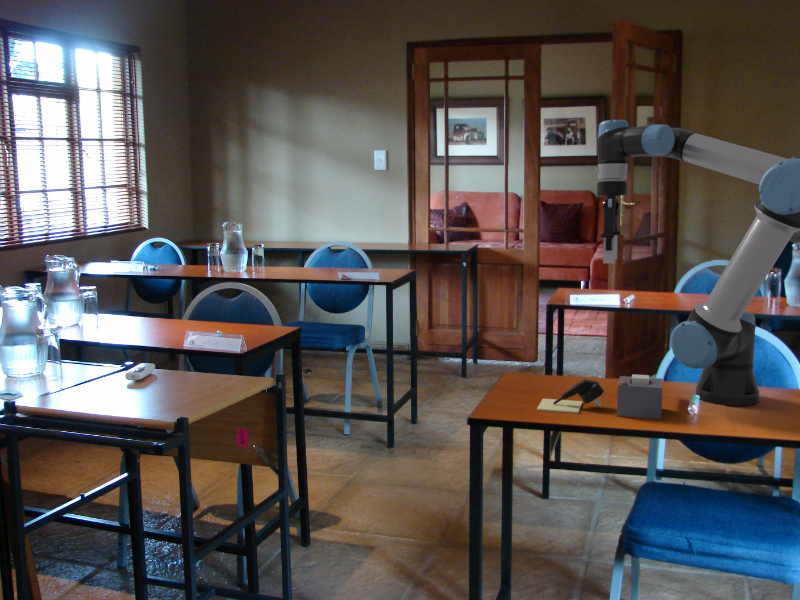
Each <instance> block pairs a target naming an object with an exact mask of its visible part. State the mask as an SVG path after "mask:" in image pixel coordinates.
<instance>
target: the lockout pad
mask: <svg viewBox="0 0 800 600" xmlns="http://www.w3.org/2000/svg"><path fill="white" fill-rule="evenodd" d="M556 400H558V399H555V398H554V399H553V398H542V400H541V401H540V402H539V404H538V406H537V408H536V411H543V412H555V413H568V414H569V413H571V414H572V413H573V414H579V413H580V410H581V409H582V408H581V407H582V404H583V400H571V399H570V400H569V399H565V400H561V401H559V402H558V403H556V404H555V405H554V404H553V402H554V401H556Z"/></svg>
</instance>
